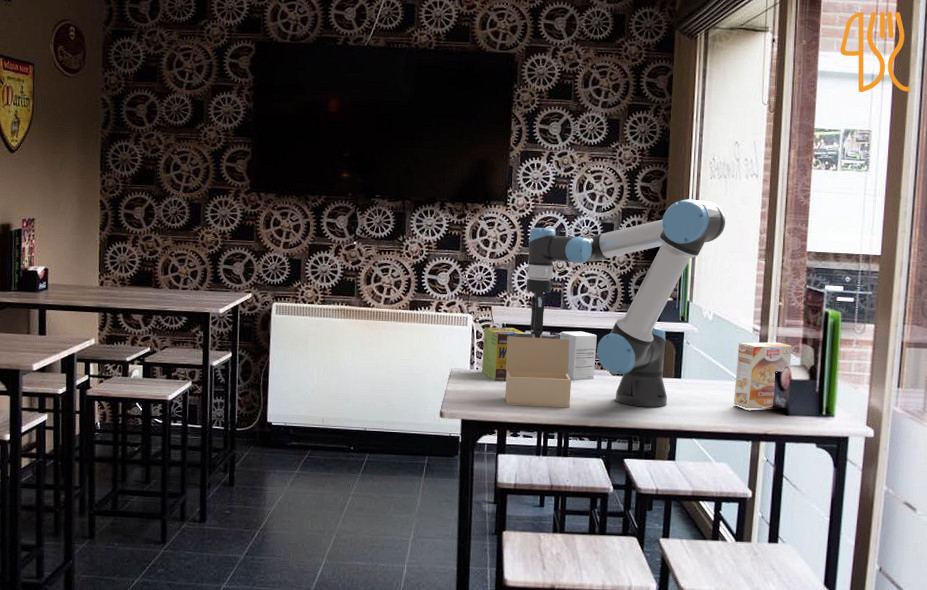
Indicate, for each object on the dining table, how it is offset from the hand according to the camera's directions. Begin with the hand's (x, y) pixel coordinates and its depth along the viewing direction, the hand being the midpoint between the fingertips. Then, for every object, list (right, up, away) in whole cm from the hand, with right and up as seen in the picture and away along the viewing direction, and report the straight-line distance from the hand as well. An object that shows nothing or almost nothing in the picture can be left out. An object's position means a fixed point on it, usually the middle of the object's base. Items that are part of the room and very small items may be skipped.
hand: (535, 353), depth 301 cm
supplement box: (+16, -10, +32) cm, 37 cm away
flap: (0, +1, -9) cm, 9 cm away
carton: (-1, -14, -14) cm, 19 cm away
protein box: (-9, -10, +26) cm, 29 cm away
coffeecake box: (+67, -16, -5) cm, 69 cm away
